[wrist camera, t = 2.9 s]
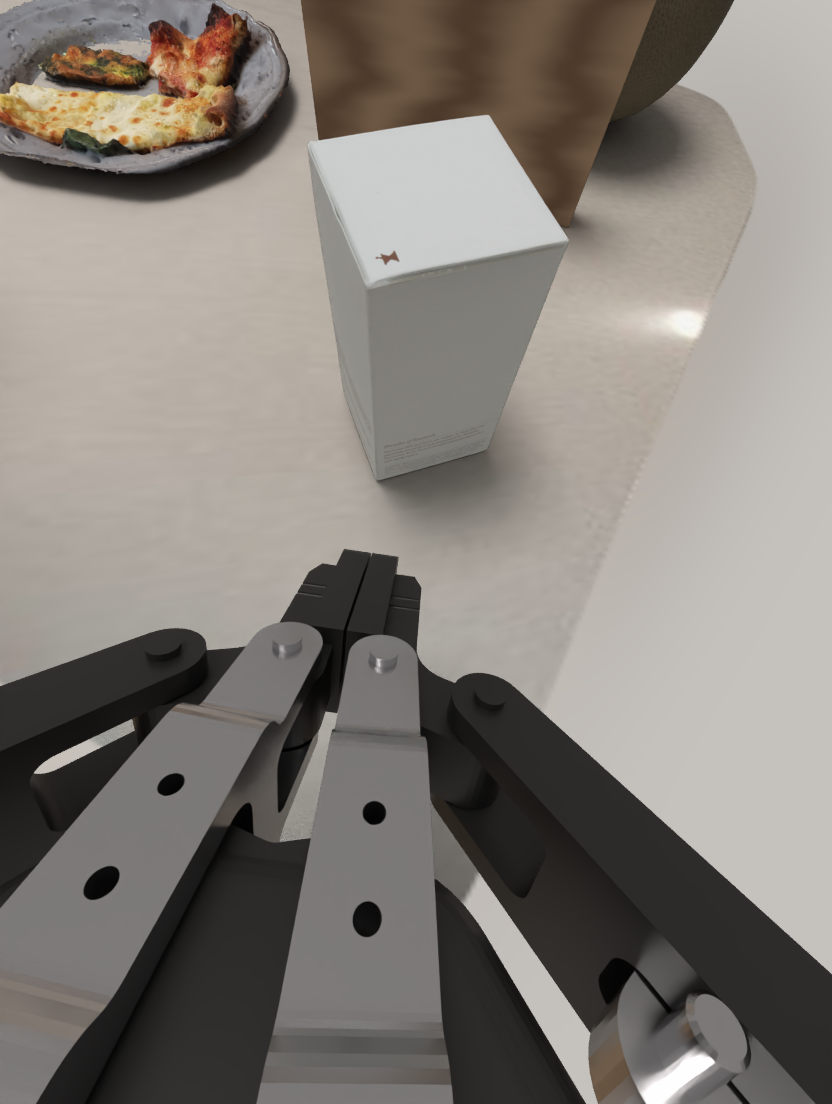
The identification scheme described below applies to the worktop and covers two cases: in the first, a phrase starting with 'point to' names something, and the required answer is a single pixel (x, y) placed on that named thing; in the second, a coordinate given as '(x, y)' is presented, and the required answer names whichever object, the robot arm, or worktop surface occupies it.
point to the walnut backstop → (480, 74)
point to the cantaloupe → (668, 50)
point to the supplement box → (430, 282)
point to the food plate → (134, 82)
